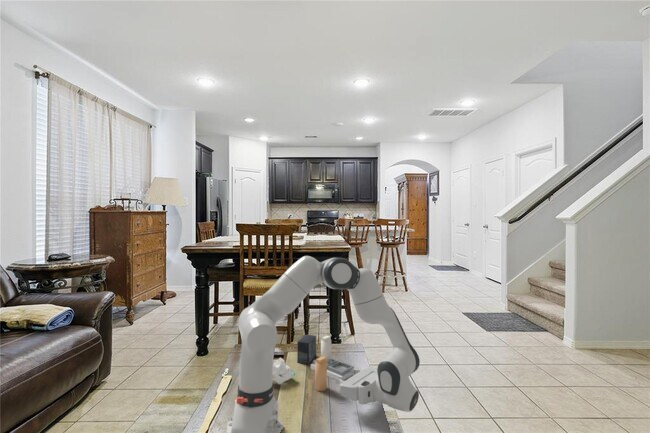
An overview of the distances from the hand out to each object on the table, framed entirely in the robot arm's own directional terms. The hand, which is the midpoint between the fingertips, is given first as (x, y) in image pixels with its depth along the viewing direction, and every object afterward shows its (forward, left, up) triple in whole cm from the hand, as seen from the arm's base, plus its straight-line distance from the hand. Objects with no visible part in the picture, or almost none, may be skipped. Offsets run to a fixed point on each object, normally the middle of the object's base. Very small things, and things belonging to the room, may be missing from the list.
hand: (344, 375), depth 138 cm
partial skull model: (+13, +27, -9) cm, 31 cm away
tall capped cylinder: (+7, +9, -9) cm, 15 cm away
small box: (+35, +17, -9) cm, 40 cm away
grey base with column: (+23, +4, -9) cm, 25 cm away
